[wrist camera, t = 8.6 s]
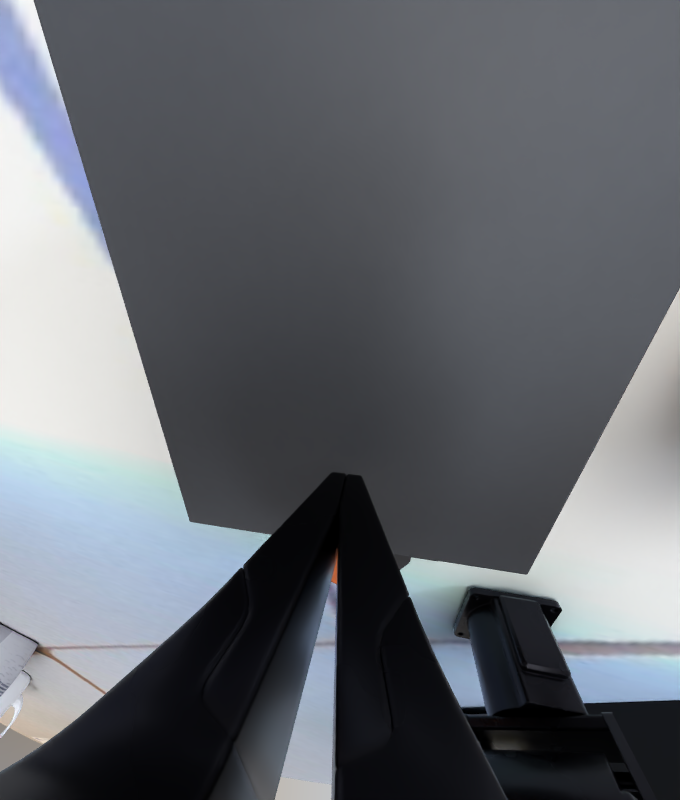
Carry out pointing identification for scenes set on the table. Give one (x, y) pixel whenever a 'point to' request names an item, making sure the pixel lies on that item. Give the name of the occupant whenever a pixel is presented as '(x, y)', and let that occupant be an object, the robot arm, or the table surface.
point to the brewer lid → (383, 243)
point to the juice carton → (13, 656)
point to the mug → (14, 697)
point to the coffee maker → (649, 741)
